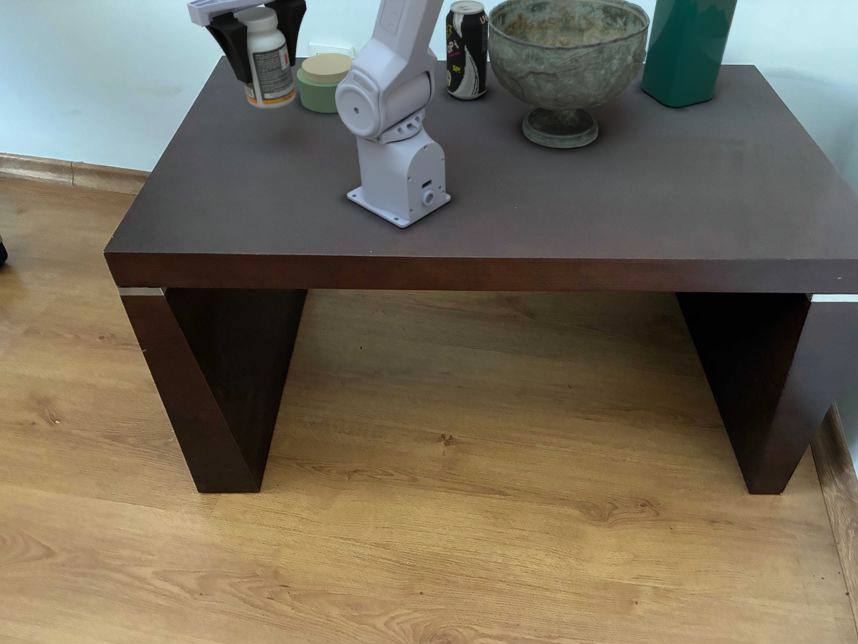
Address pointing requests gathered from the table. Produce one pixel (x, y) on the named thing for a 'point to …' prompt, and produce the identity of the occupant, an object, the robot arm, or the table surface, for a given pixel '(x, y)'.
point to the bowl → (566, 61)
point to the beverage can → (466, 49)
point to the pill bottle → (267, 60)
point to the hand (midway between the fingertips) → (267, 72)
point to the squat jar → (322, 80)
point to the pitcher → (686, 49)
